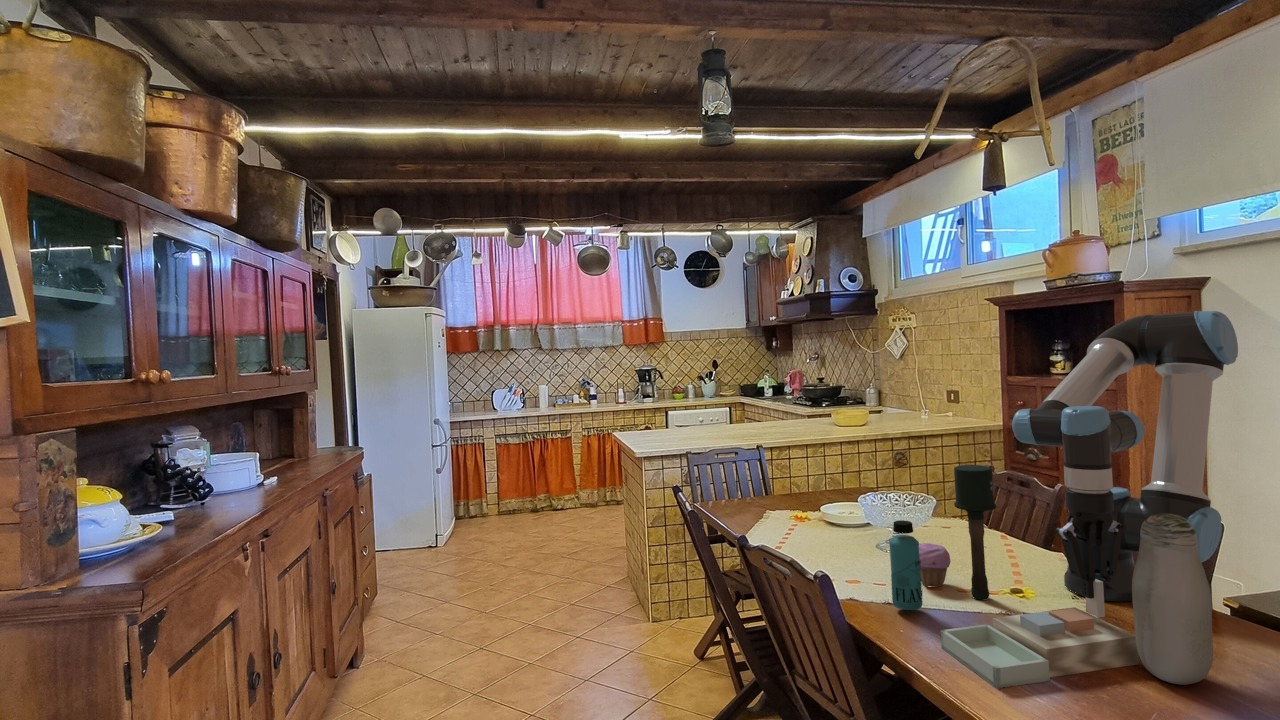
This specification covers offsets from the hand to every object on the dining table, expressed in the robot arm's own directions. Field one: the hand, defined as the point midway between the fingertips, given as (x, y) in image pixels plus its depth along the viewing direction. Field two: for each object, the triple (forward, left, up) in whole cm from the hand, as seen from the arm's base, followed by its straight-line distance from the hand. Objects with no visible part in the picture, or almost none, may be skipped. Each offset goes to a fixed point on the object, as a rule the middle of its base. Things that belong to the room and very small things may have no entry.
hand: (1095, 614), depth 125 cm
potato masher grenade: (+4, -28, -7) cm, 29 cm away
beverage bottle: (+23, -26, -7) cm, 35 cm away
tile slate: (+11, 0, -2) cm, 11 cm away
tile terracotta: (+5, 0, -2) cm, 5 cm away
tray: (+22, 0, -7) cm, 23 cm away
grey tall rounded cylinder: (-3, +13, -7) cm, 15 cm away
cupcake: (+9, -39, -7) cm, 41 cm away
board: (+7, 0, -7) cm, 10 cm away
